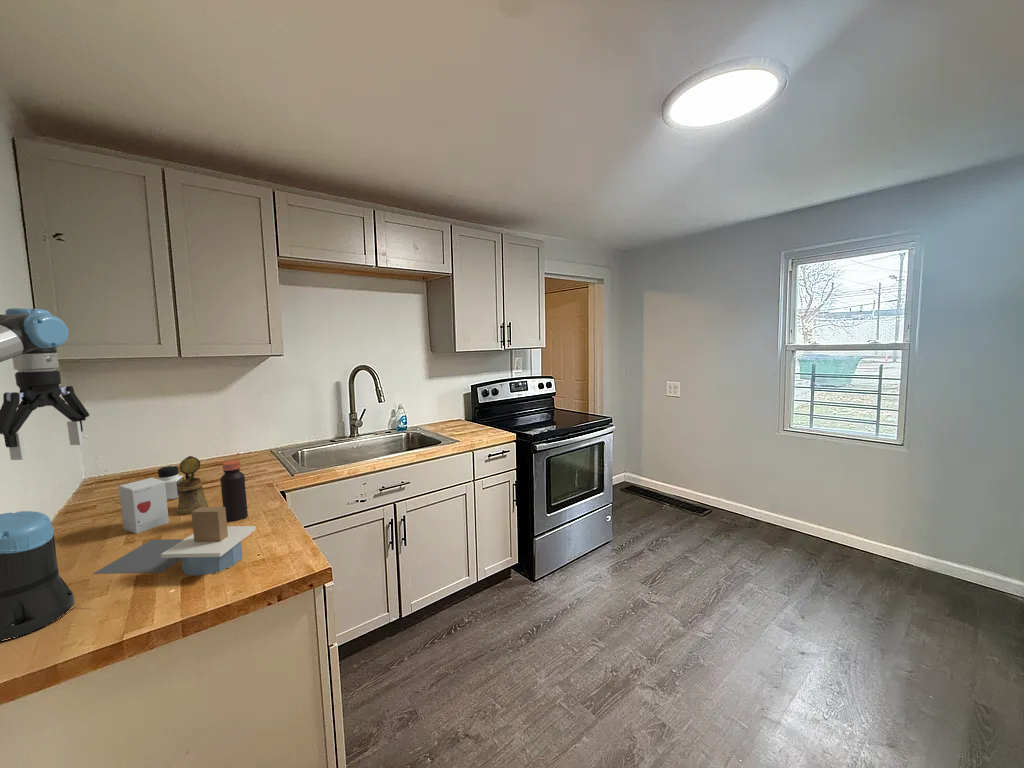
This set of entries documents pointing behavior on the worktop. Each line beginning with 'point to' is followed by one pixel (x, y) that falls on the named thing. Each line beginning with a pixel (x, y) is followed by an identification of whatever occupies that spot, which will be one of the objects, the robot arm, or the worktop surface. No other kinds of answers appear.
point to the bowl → (212, 562)
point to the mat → (144, 559)
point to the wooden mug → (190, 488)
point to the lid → (209, 535)
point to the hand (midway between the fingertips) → (49, 451)
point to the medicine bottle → (170, 480)
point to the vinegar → (233, 491)
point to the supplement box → (143, 505)
